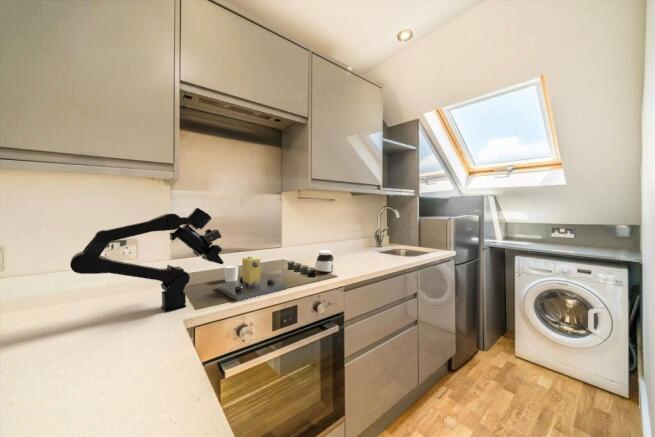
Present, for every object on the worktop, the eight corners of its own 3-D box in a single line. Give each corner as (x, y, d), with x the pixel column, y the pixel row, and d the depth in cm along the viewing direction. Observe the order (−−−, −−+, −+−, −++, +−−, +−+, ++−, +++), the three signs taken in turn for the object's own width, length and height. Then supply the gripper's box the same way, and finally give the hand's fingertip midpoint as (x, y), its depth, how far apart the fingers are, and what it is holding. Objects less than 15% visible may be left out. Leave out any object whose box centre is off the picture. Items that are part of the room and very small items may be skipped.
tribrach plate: (237, 301, 96) (237, 289, 96) (217, 288, 112) (216, 278, 112) (286, 289, 111) (286, 278, 111) (262, 279, 127) (261, 270, 127)
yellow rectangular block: (250, 286, 107) (250, 259, 106) (241, 281, 113) (241, 256, 113) (261, 283, 110) (261, 257, 110) (251, 279, 117) (251, 254, 116)
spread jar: (326, 275, 134) (326, 253, 133) (309, 272, 139) (308, 251, 139) (337, 270, 144) (337, 250, 144) (320, 268, 150) (320, 248, 149)
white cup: (233, 282, 122) (233, 268, 121) (220, 282, 123) (220, 267, 123) (241, 278, 128) (240, 265, 128) (229, 278, 130) (228, 264, 130)
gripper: (215, 223, 92) (245, 250, 100) (200, 222, 106) (227, 245, 114) (192, 247, 87) (225, 273, 95) (179, 242, 101) (209, 265, 108)
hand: (222, 263), depth 103 cm, fingers closed
